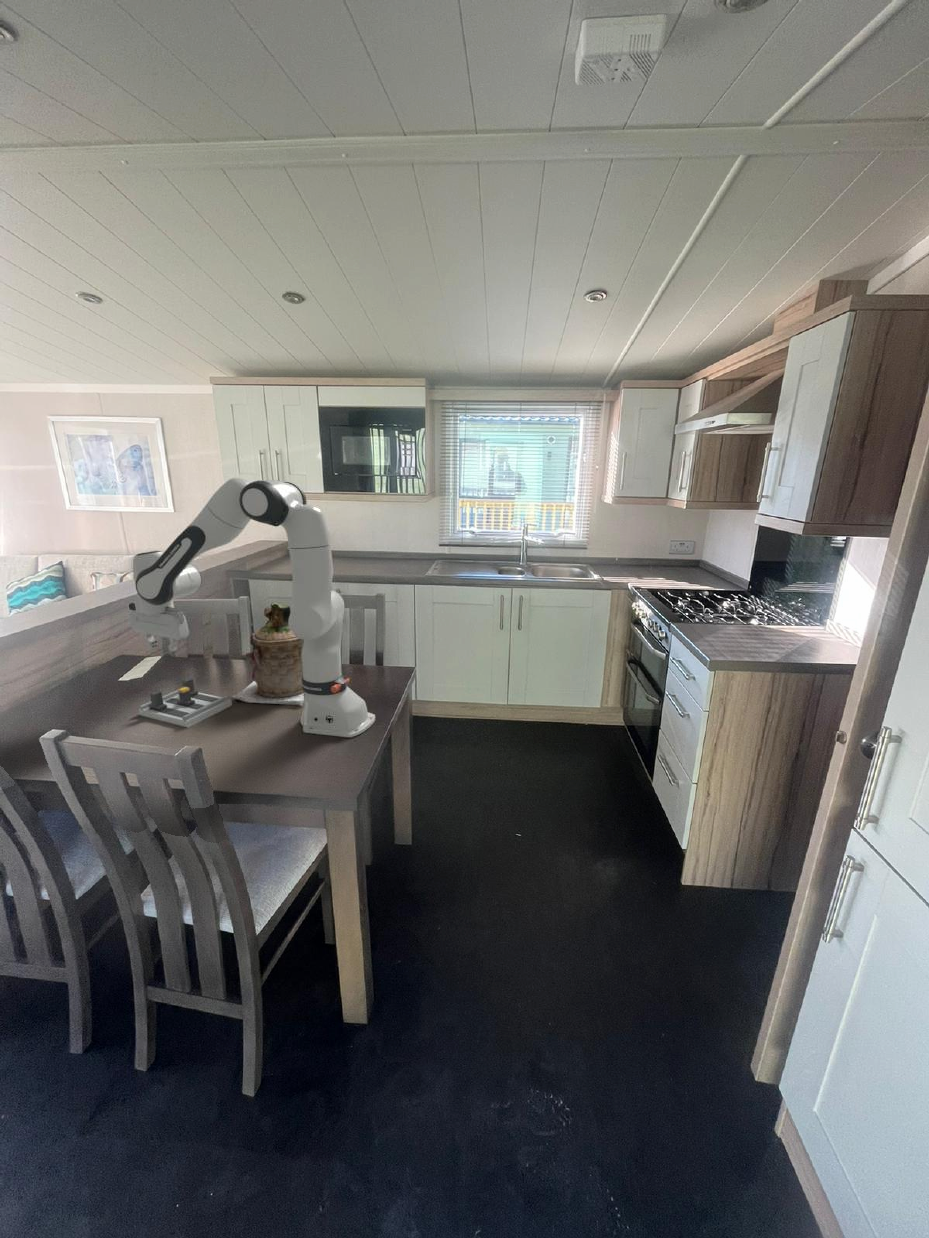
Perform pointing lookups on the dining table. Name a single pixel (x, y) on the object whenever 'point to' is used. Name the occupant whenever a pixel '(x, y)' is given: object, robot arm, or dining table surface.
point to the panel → (186, 709)
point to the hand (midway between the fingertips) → (163, 648)
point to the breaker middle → (185, 696)
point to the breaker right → (190, 686)
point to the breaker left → (157, 701)
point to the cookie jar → (275, 662)
